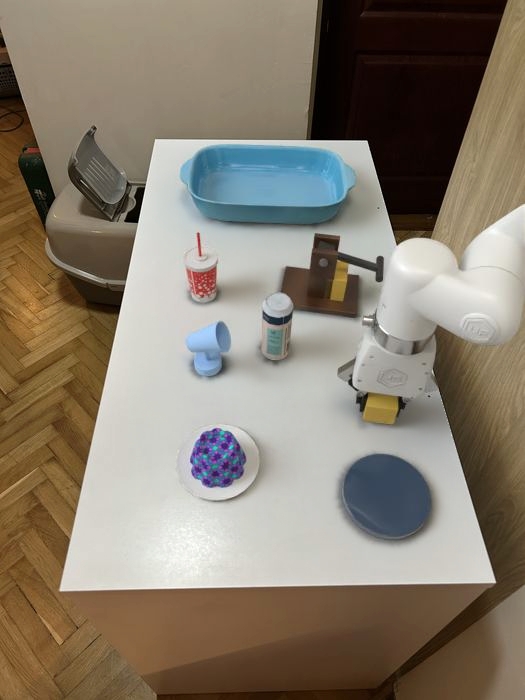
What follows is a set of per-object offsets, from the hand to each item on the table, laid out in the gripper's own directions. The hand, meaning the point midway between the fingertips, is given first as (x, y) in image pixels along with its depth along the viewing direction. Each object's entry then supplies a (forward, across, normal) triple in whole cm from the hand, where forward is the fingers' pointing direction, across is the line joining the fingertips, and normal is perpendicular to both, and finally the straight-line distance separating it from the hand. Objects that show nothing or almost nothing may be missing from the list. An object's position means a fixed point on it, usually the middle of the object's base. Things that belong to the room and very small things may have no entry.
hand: (378, 406), depth 81 cm
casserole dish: (+1, -26, +51) cm, 57 cm away
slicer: (+1, -12, +24) cm, 27 cm away
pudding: (+1, -22, -13) cm, 26 cm away
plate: (+2, +2, -14) cm, 14 cm away
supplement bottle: (+1, -18, +9) cm, 20 cm away
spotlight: (+1, -28, +4) cm, 28 cm away
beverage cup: (+1, -32, +20) cm, 38 cm away
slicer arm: (-7, -7, +24) cm, 26 cm away
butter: (0, -9, +24) cm, 26 cm away
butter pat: (0, 0, 0) cm, 0 cm away
